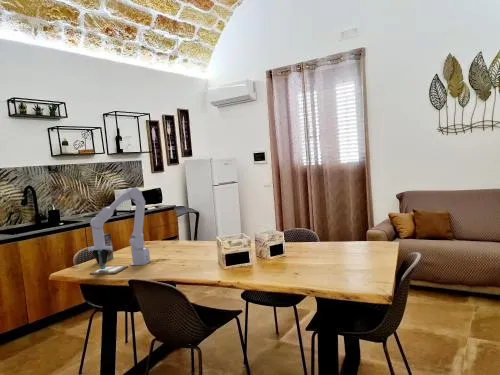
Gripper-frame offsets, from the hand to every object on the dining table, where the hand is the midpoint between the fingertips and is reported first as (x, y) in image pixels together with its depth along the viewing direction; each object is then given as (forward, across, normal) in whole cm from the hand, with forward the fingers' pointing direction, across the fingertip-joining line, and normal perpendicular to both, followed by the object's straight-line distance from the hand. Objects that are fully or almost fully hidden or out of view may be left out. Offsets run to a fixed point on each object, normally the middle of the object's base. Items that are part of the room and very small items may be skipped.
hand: (102, 263), depth 205 cm
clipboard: (+5, +2, +2) cm, 6 cm away
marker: (+3, 0, 0) cm, 3 cm away
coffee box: (+5, -16, +25) cm, 30 cm away
